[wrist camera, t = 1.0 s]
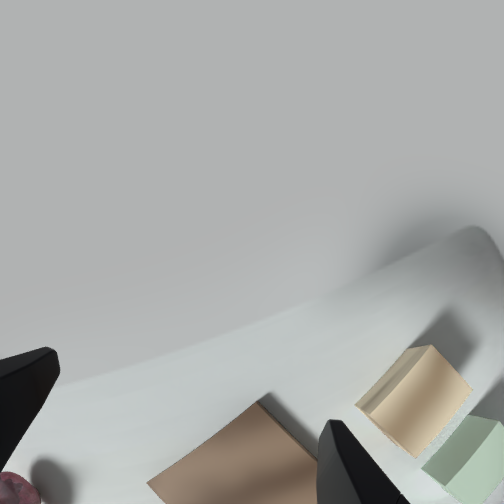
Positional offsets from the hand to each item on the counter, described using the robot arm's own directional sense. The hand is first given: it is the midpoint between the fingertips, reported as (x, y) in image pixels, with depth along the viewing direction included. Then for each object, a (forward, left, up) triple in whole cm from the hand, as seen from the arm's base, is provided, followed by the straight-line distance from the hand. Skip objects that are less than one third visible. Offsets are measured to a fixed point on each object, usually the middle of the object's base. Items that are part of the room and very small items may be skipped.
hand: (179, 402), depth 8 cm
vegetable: (+3, +29, -15) cm, 33 cm away
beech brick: (-10, -7, -15) cm, 20 cm away
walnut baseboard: (-8, +7, -15) cm, 18 cm away
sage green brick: (-19, -7, -15) cm, 25 cm away
